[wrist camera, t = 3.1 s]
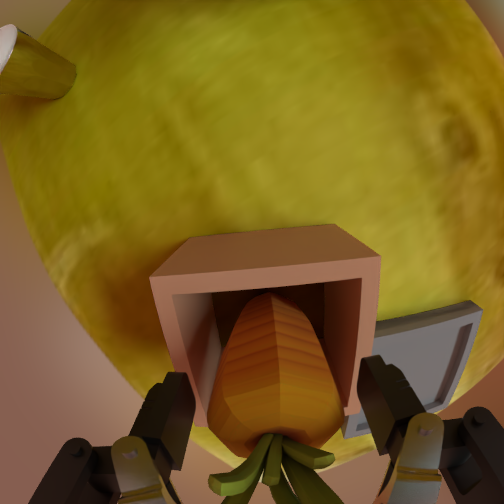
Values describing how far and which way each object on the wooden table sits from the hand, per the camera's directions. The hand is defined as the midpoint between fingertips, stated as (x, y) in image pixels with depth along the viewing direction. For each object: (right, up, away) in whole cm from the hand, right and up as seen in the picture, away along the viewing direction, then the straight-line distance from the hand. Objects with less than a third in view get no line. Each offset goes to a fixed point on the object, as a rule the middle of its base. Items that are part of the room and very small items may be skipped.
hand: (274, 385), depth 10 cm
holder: (0, +2, +8) cm, 8 cm away
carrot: (0, +2, +8) cm, 9 cm away
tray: (+13, -5, +10) cm, 17 cm away
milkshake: (-16, +18, +4) cm, 24 cm away
